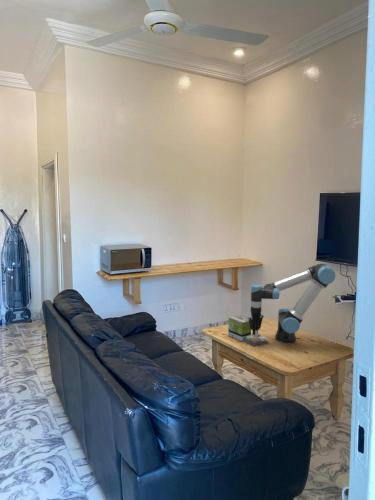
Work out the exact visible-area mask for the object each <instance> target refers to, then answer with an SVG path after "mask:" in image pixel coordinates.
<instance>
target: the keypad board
mask: <svg viewBox="0 0 375 500" xmlns="http://www.w3.org/2000/svg"><path fill="white" fill-rule="evenodd" d="M242 342H244V343H245V344H247V345H249V344H250V346H252V347H259V346H263V345H264V346H265V345H268V344H269V340H267V339H266V340H265V341H263V342H260V341H259V342H258V343H253V342H251V341H249V340H247V339H246V338H245V339H243V341H242Z"/></svg>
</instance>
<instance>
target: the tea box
mask: <svg viewBox="0 0 375 500" xmlns="http://www.w3.org/2000/svg"><path fill="white" fill-rule="evenodd" d="M227 329H228V337H231V338H233V339H235V340H237V341H240V342H243V339H245V338H246V336H252V330H251V329H250V324H249V319H248V318H245V317H244V316H239V315H235V316H230V317H228V328H227Z"/></svg>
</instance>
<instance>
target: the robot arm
mask: <svg viewBox="0 0 375 500" xmlns="http://www.w3.org/2000/svg"><path fill="white" fill-rule="evenodd" d="M335 279H336V272H335V270H334V269H333V268H332V267H331V266H329V265H328V264H324V263H319V264H317V263H316V264H315V265H313V266H310V267H307V268H306V269H305V270H303V271H301V272H298V273H296V274H293V275H290V276H287V277H284V278H281V279H279V280H277V281H274V282H271V283H265V284H264V286H262V285H261V284H252V285H251V291H250V315H249V316H247V319H249V324H250V329H251V331H252V334H253V339H255V340H256V339H257V334H259V331H260V330H261V327H262V322H263V318H264V315H263V314H262V305H263V304H262V303H263V301H262V300H279V298H280V292H281V291H284V290H287V289H290V288H292V287H295V286H298V285H301V284H303V283H306V282H309V281H311V282H310V283H309V284H308V286H307V287H306V289H305V290H304V291H303V293H302V294H301V296H300V297H299V298H298V300H297V301H296V303H295V304H294V305H293V307H292V308H279V309H278V312H277V313H278V315H277V316H278V317H277V319H278V320H277V331H276V333H275V336H274V337H275V338H274V339H275V340H276V341H277V342H280V343H287V344H288V343H289V344H292V343H295V342H296V341H297V336H296V333H297V332H298V331H299V330H300V327H301V326H300V324H301V323H302V322H303V320H304V319H303V317H304V315H305V313H307V311H308V310H309V308H310V307H311V306H312V304H313V303H314V301H315V300H316V298H317V297H318V296H319V294H320V293H321V292H322V290H323V289H326V288H327V287H328V286H329V285H330V284H332V283H333V282H334V281H335Z"/></svg>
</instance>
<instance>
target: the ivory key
mask: <svg viewBox="0 0 375 500" xmlns="http://www.w3.org/2000/svg"><path fill="white" fill-rule="evenodd" d="M257 339H259V341H260V342H263V341H265V340H267V338H266V337H264V336H261V337H257Z"/></svg>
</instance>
